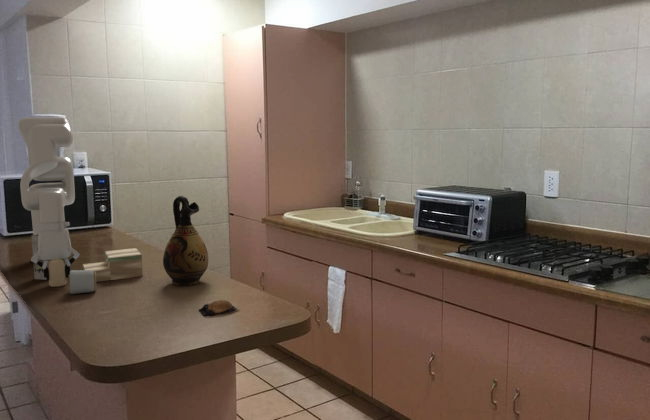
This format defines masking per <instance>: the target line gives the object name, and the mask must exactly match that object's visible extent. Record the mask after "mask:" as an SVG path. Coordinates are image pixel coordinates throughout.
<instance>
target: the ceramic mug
mask: <svg viewBox="0 0 650 420" xmlns="http://www.w3.org/2000/svg"><path fill="white" fill-rule="evenodd" d="M96 291H97V282H96V272H95V271H93V270H81V269H79V270H77V269H76V270H75V269H74V270H73V269H72V270H71V269H70V275H69V292H70V293H69V294H70V295H75V294H87V293H93V292H96Z"/></svg>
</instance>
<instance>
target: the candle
mask: <svg viewBox="0 0 650 420" xmlns="http://www.w3.org/2000/svg"><path fill="white" fill-rule="evenodd" d="M47 265H48V276H49V280H48V286H49V287H52V288H54V287H56V288H57V287H63V286H66V285H67V278H66V269H65V266H66V262H65V260H64V259H54V260H48V263H47Z"/></svg>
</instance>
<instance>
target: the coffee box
mask: <svg viewBox="0 0 650 420" xmlns="http://www.w3.org/2000/svg"><path fill="white" fill-rule="evenodd" d="M38 235H39V234H36V235H33V234H32V235H31V250H32V257H33V256H34V255H35V254H36V252H37V251H38ZM37 259H38V260H39V261H41V262H42V263H43V260H40V257H39V256H38V258H37ZM32 263H33V273H34V280H42V281H44V280H45V281H47V280H46V278H44V272H43V268H41V267H40V266H39V265H37V264H36V263H34V262H32ZM47 268H48V265H47Z"/></svg>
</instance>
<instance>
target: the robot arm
mask: <svg viewBox="0 0 650 420" xmlns="http://www.w3.org/2000/svg"><path fill="white" fill-rule="evenodd" d="M17 128H18V130H19V133H20V136H21V137H22V139H23V140H24V143H25V144H26V147H27V155H28V156H27V157H28V159H27V160H28V167H27V168H25V171H24V172H23V173H22V176H21V179H20V185H19V186H20V187H19V188H20V197H21V204H22V207H23V208H24V209H25V210H27V211H28V212H29V211H30V213H31V223H32V235H36V234H39V235H38V251H37V252H36V254H35V255H34V256H33V255H32V257H31V258H30V260H31V263H33V262H34V263H36V264H37V265H39V266H40V267H41V268H43V272H44V278H46V280H45V281H49V276H48V268H47V263H48V260H54V259H64V260H65V269H66V279H70V271H71V265H72V264H73V263H74V262H76V260H77V259H78V258H79V257H80V253H79V252H78V251H77V250H76V249H74V248H73V247H72V244H71V236H70V232H69V230H68V227H70V225H71V223H70V221H66V218H65V206H69V205H72V204H74V202H75V201H76V200H75V199H76V192H75V191H76V188H75V172H74V166H73V161H72V160H71V159H70V158H69V157H67V156H58V153H57V148H67V147H71V146H72V144H73V140H74V139H73V138H74V137H73V136H74V135H73V131H72V127H71V125H70V122H69V121H68V119H67V118H65V117H58V116H56V117H52V116H51V117H46V116H45V117H44V116H39V117H38V116H36V117H34V116H33V117H24V118H21V119H19V121H18V127H17ZM32 180H34V181H35V182H36V181H37V182H42V183H35V184H32V185H30V183H31V182H32ZM50 181H51V182H50ZM52 181H53V182H52ZM54 181H61V182H54ZM43 182H44V183H43ZM72 255H73V256H72ZM38 256H39V257H40V260H43V263H42V262H41V261H39V260H38V259H37V258H38ZM69 258H70V259H69ZM34 263H33V264H34Z"/></svg>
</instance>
